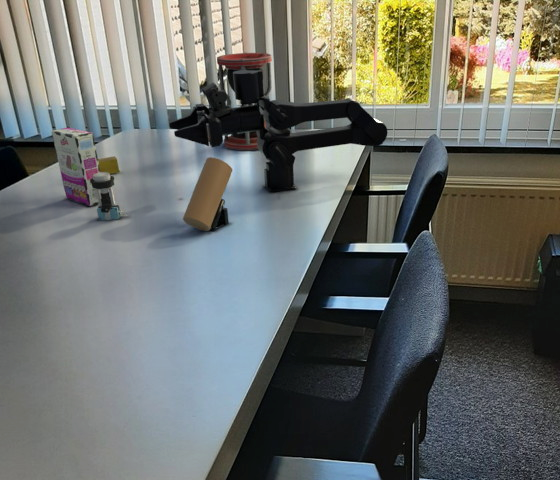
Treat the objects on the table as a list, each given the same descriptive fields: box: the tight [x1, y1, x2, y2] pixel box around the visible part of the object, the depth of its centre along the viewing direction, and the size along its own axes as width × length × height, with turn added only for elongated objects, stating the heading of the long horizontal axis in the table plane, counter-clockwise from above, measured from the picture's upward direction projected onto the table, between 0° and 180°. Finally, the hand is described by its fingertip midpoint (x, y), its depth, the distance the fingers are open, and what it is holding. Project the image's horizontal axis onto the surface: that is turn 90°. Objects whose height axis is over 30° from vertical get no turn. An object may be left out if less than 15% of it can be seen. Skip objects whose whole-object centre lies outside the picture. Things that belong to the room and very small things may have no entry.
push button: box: [90, 172, 128, 221], centre depth 140 cm, size 7×5×10 cm
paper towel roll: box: [182, 156, 233, 232], centre depth 132 cm, size 14×6×14 cm, turn 149°
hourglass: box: [216, 52, 273, 151], centre depth 188 cm, size 16×16×25 cm
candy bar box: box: [51, 127, 101, 207], centre depth 150 cm, size 11×5×16 cm, turn 47°
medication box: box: [98, 155, 121, 175], centre depth 171 cm, size 12×3×4 cm, turn 116°
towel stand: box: [210, 198, 230, 232], centre depth 134 cm, size 5×6×6 cm
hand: (171, 129), depth 143 cm, fingers open, 9 cm apart
